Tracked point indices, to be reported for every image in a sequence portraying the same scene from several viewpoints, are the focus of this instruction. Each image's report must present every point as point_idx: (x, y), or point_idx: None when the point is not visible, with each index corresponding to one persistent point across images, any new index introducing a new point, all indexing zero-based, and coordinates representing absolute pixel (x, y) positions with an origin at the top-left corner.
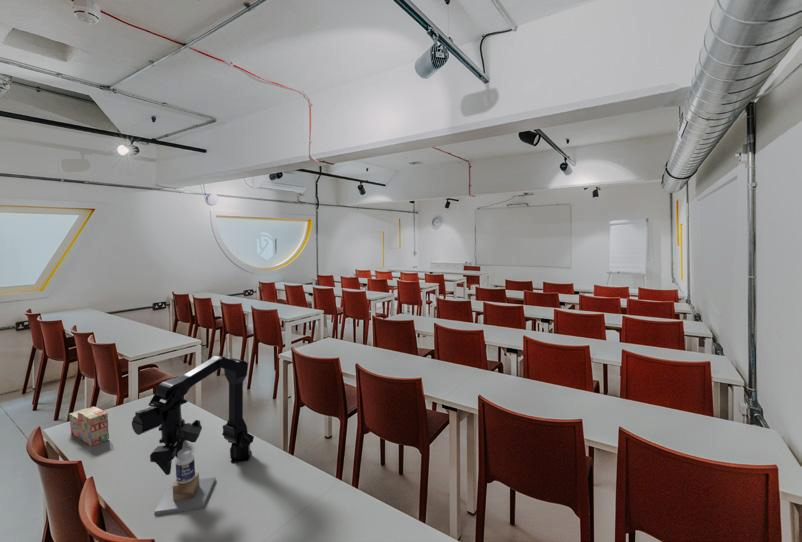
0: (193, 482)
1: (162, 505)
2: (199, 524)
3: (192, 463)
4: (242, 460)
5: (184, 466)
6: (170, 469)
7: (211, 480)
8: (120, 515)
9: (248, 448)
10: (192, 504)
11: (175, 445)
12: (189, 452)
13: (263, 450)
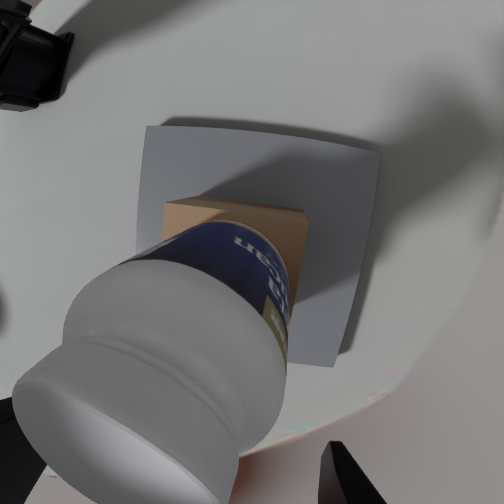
0: (291, 219)
1: (304, 346)
2: (467, 166)
3: (222, 266)
4: (66, 52)
5: (284, 358)
6: (350, 473)
7: (168, 139)
8: (276, 442)
9: (32, 25)
10: (359, 207)
11: (18, 472)
12: (145, 426)
13: (45, 12)
